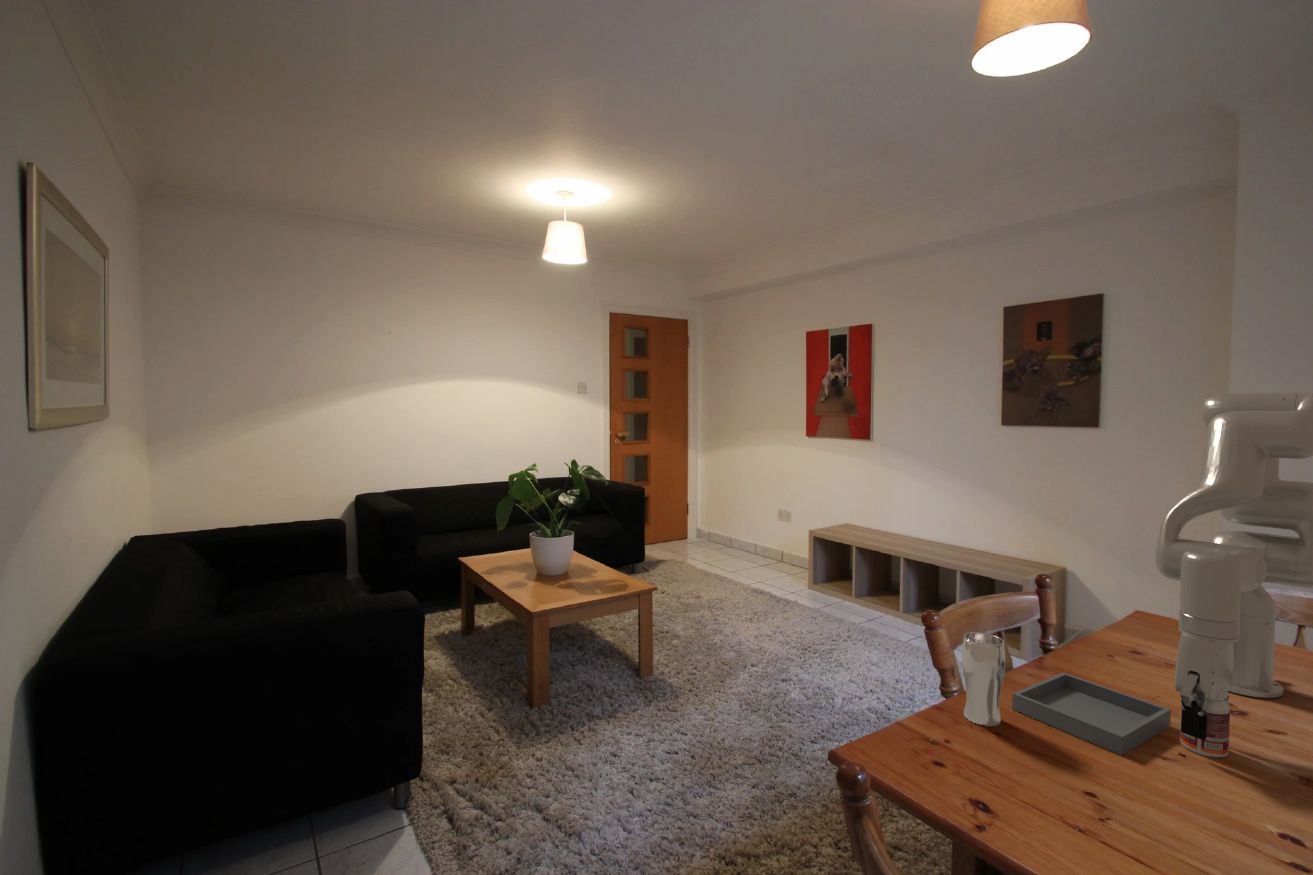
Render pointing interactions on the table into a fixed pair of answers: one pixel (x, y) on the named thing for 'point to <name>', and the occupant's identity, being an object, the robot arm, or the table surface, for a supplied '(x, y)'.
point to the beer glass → (983, 677)
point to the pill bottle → (1212, 729)
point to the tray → (1092, 712)
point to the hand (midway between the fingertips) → (1204, 728)
